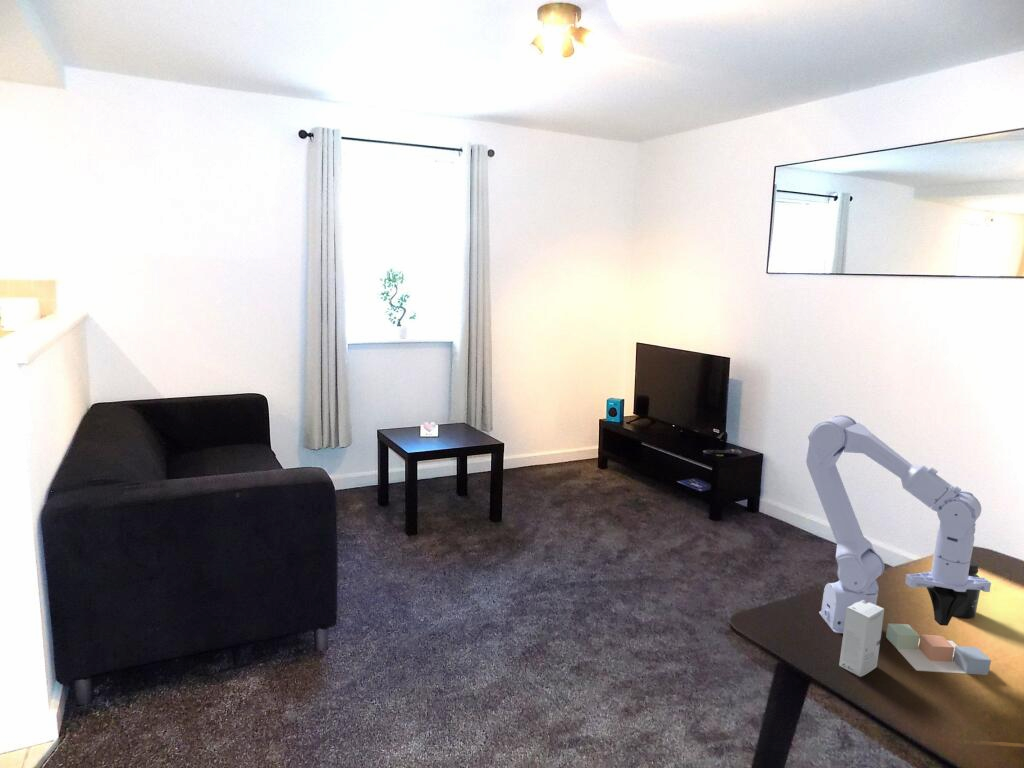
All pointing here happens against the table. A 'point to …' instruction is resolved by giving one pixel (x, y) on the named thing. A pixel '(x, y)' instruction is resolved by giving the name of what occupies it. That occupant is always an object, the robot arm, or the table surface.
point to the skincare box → (861, 637)
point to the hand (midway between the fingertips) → (941, 622)
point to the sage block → (902, 636)
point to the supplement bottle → (969, 597)
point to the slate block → (971, 660)
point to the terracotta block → (936, 648)
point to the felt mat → (929, 661)
